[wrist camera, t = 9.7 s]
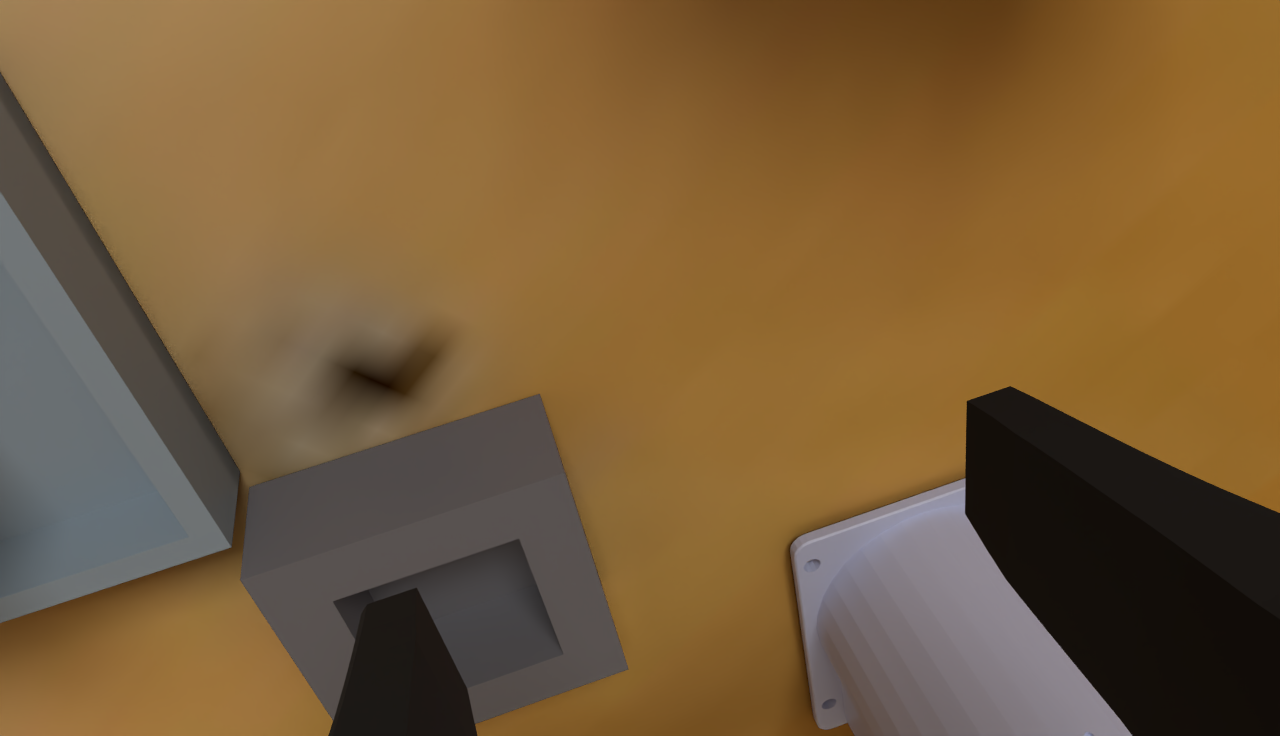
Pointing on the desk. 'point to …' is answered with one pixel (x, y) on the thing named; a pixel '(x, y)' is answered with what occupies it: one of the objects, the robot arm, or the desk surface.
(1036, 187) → the desk surface
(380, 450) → the grey square holder
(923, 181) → the desk surface
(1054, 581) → the robot arm
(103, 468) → the parts tray
